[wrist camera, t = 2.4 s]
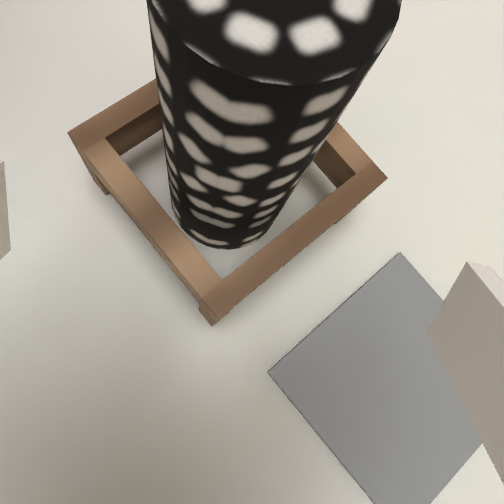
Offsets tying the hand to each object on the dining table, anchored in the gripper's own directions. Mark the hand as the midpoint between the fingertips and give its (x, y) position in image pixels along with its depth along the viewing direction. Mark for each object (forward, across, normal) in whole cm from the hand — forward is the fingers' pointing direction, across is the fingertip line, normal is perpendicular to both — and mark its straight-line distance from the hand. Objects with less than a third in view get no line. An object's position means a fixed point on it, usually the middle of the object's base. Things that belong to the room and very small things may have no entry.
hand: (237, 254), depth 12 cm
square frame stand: (+20, 0, -7) cm, 21 cm away
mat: (+12, +15, -15) cm, 24 cm away
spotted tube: (+20, 0, -7) cm, 21 cm away
